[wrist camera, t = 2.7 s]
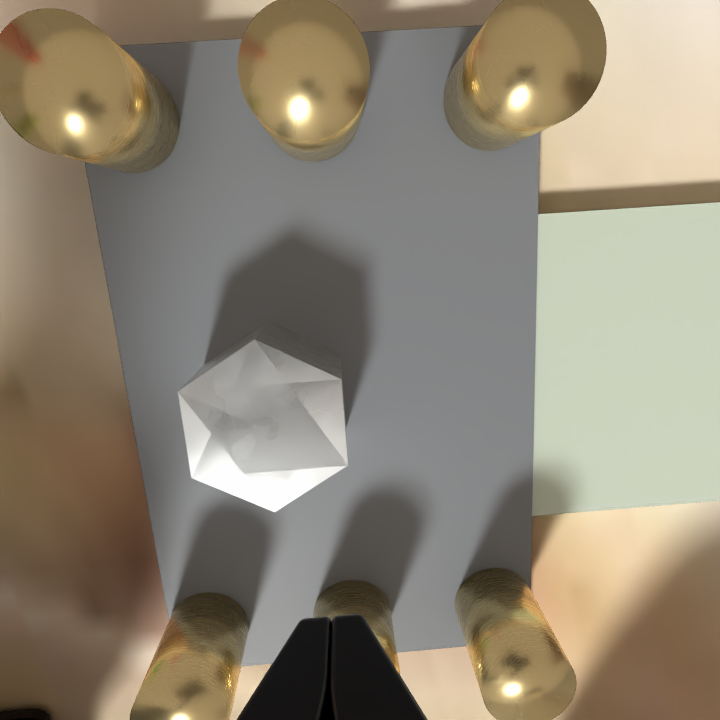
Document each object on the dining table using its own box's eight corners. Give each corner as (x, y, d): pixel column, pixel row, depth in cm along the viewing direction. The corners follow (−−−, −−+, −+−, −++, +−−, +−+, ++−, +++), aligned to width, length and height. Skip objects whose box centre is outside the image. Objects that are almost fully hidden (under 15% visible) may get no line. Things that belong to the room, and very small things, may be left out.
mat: (524, 506, 20) (530, 515, 20) (529, 214, 18) (536, 214, 17) (725, 490, 20) (737, 499, 20) (760, 199, 18) (776, 198, 17)
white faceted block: (219, 472, 18) (197, 518, 16) (198, 325, 17) (170, 345, 14) (348, 462, 19) (351, 505, 16) (337, 315, 17) (337, 333, 14)
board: (184, 655, 21) (178, 672, 20) (77, 57, 16) (64, 48, 15) (522, 625, 22) (529, 640, 21) (531, 32, 16) (541, 21, 15)
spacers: (176, 661, 20) (138, 763, 16) (67, 67, 15) (-25, 12, 11) (530, 630, 21) (574, 722, 17) (541, 40, 16) (609, -22, 12)
